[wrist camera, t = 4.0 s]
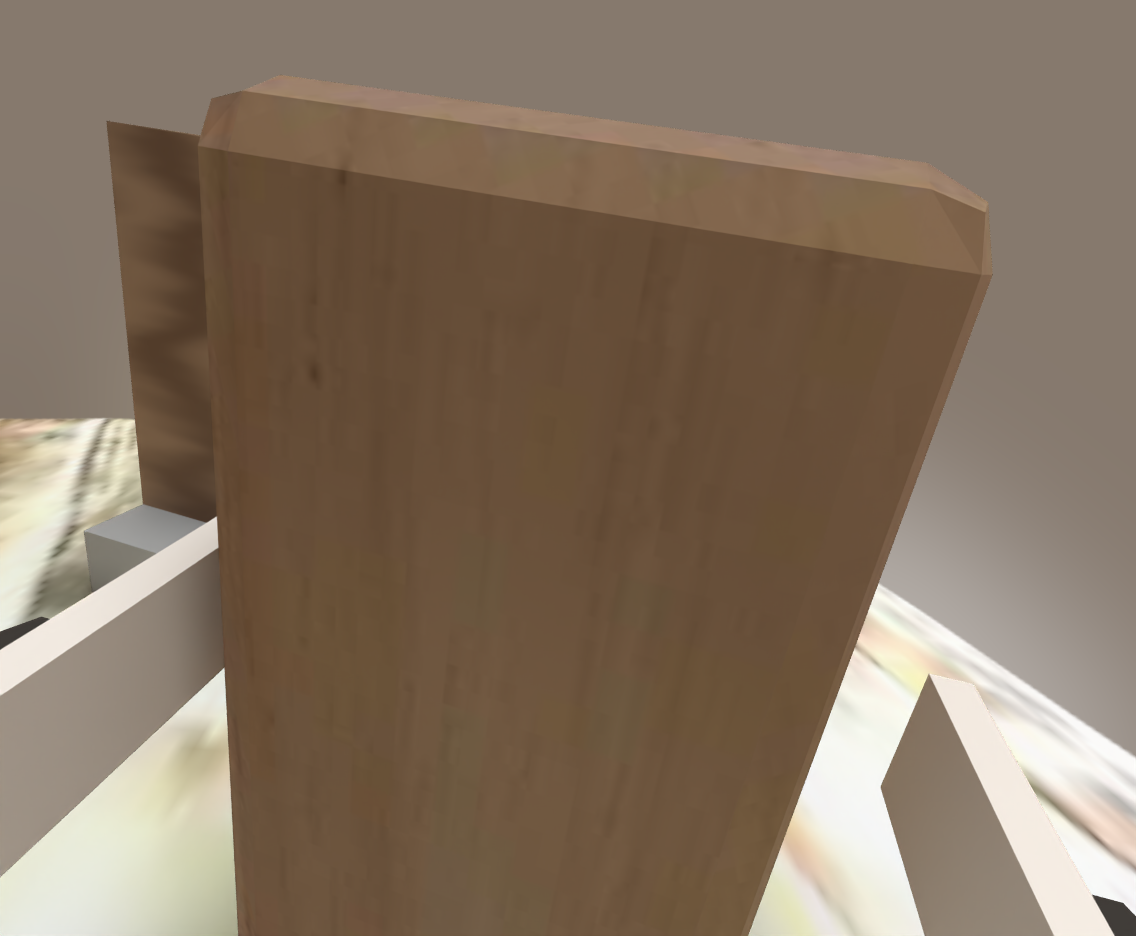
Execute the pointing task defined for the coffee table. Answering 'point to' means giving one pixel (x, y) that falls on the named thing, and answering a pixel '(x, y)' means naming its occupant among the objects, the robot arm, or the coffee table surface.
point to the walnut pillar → (165, 314)
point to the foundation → (132, 541)
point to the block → (550, 496)
